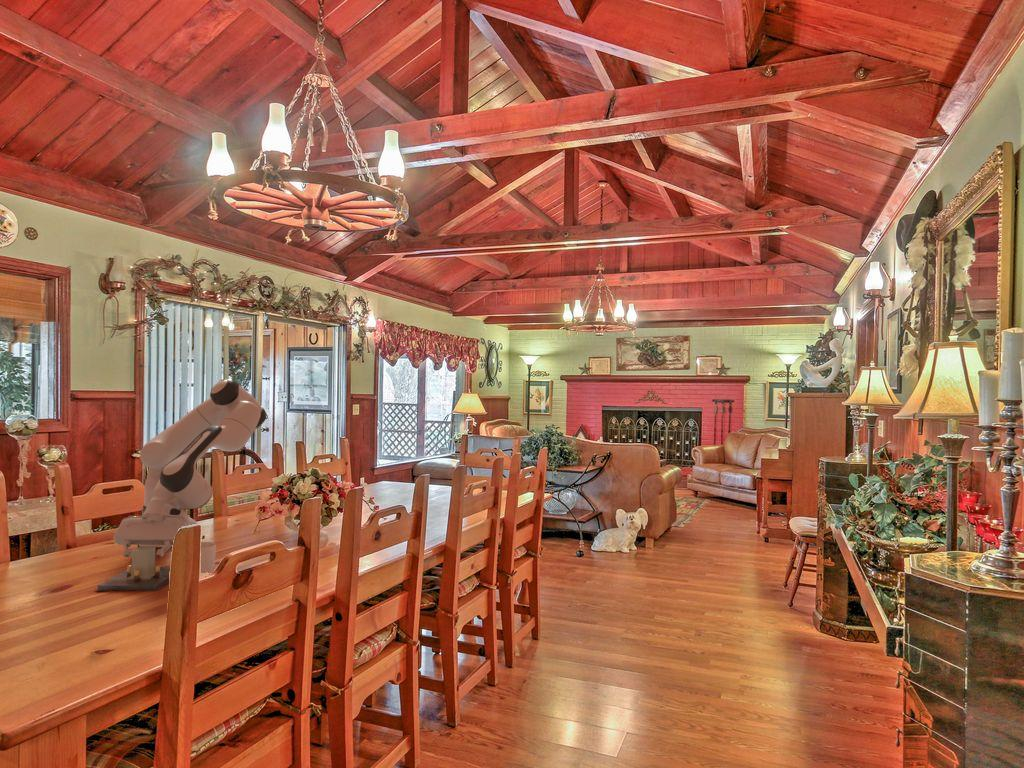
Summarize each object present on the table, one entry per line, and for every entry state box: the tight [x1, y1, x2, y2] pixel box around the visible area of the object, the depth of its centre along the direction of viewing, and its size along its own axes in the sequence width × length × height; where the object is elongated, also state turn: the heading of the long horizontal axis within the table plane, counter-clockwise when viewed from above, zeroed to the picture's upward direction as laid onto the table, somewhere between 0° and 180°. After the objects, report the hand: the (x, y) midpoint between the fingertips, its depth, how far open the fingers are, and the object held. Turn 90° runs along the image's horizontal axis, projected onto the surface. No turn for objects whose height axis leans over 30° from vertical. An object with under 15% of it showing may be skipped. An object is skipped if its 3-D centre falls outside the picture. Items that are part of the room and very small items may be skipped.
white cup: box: [200, 541, 217, 577], centre depth 191 cm, size 8×8×10 cm
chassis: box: [97, 564, 171, 592], centre depth 187 cm, size 18×16×4 cm
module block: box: [131, 546, 156, 578], centre depth 187 cm, size 4×4×8 cm
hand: (142, 556), depth 186 cm, fingers open, 8 cm apart
